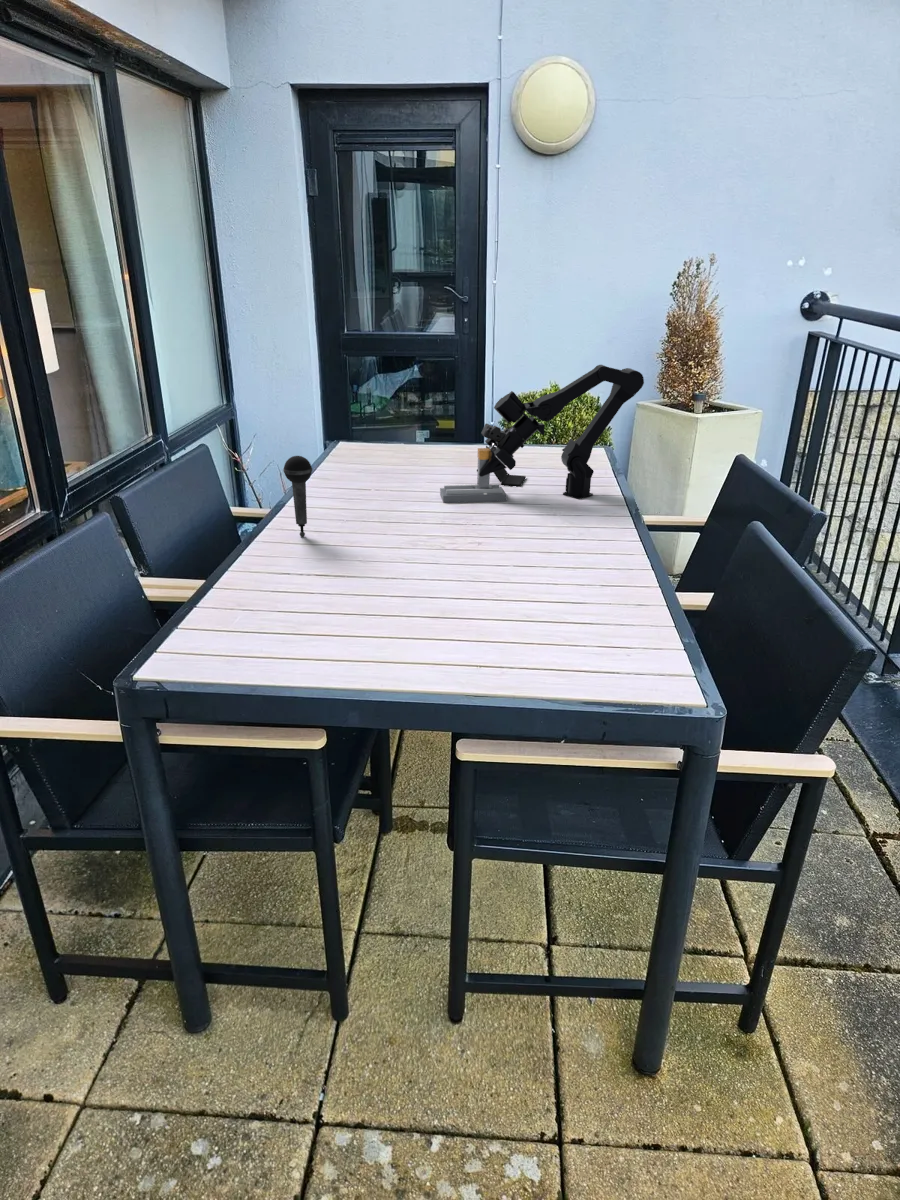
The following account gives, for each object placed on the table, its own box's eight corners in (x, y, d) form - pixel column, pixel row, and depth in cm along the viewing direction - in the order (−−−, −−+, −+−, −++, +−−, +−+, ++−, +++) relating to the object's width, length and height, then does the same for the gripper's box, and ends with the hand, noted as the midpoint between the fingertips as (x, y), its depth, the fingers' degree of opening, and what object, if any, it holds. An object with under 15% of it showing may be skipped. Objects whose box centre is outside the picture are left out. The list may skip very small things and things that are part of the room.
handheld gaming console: (527, 482, 237) (507, 455, 235) (507, 496, 239) (488, 469, 237) (527, 478, 248) (508, 452, 246) (508, 491, 250) (490, 465, 248)
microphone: (310, 542, 189) (305, 460, 181) (283, 540, 191) (277, 458, 183) (320, 533, 196) (315, 453, 188) (294, 531, 197) (288, 452, 189)
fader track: (501, 493, 231) (501, 482, 229) (506, 501, 223) (506, 490, 222) (440, 495, 228) (440, 484, 227) (443, 502, 221) (443, 491, 220)
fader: (490, 489, 227) (492, 448, 222) (492, 491, 224) (493, 450, 220) (473, 489, 227) (474, 448, 222) (475, 492, 224) (476, 450, 219)
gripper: (493, 408, 226) (454, 447, 229) (505, 420, 209) (463, 462, 212) (519, 435, 230) (480, 473, 233) (533, 449, 213) (491, 489, 216)
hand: (478, 473), depth 223 cm, fingers open, 4 cm apart
